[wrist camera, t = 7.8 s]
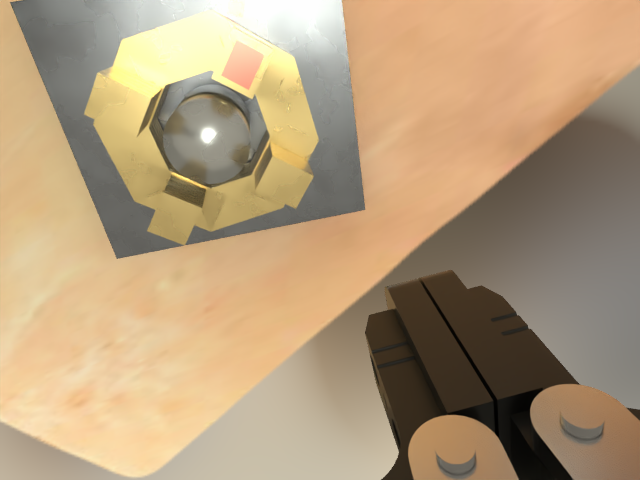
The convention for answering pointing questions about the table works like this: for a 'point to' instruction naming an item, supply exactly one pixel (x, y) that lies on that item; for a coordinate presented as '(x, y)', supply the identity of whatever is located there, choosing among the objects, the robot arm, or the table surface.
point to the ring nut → (147, 135)
